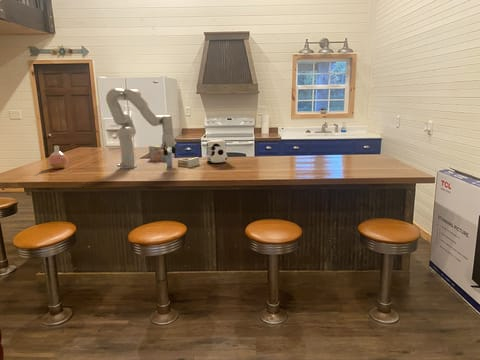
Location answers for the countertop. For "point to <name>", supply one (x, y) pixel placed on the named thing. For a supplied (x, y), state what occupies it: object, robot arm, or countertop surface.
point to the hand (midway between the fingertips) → (169, 154)
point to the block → (183, 162)
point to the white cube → (216, 151)
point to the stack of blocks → (157, 153)
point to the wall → (193, 162)
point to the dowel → (169, 159)
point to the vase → (57, 159)
